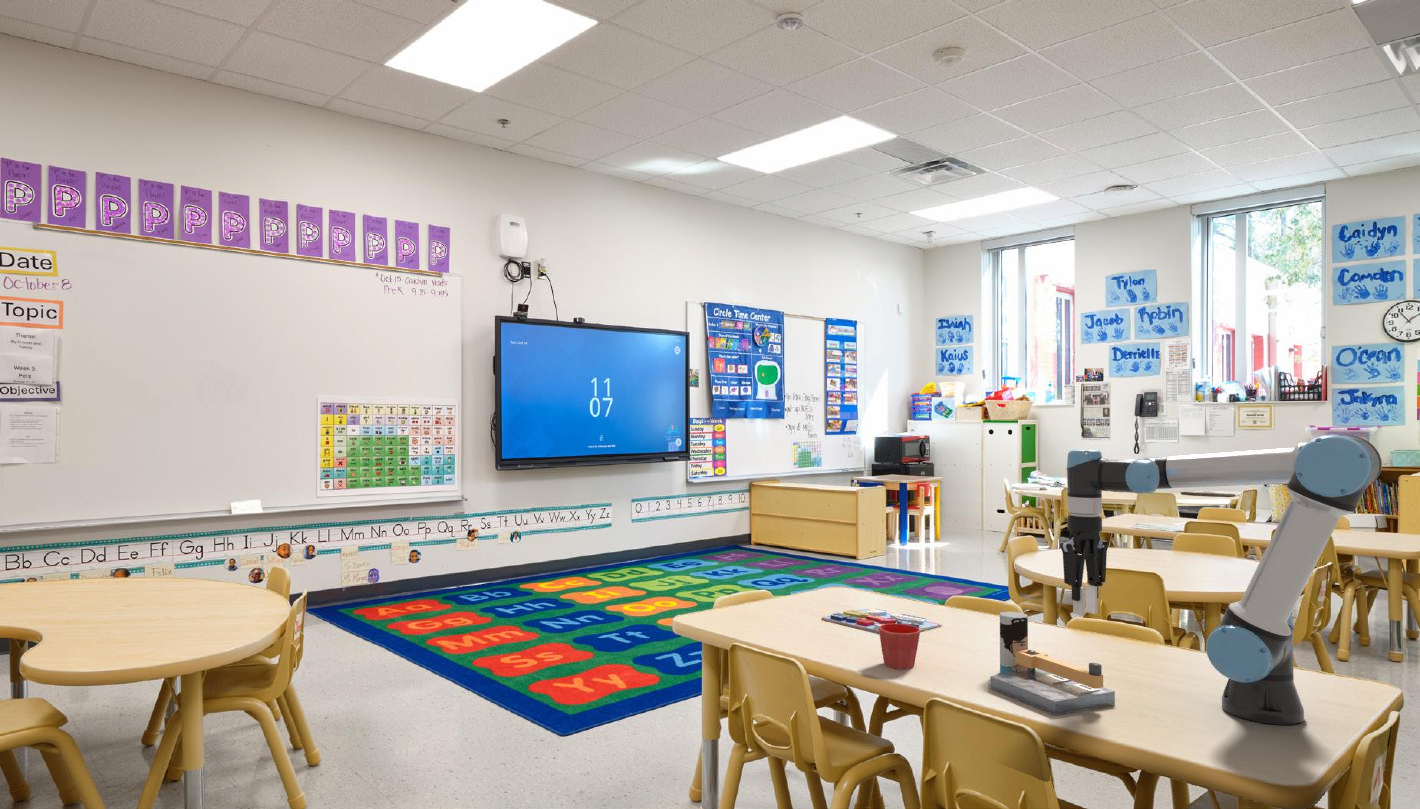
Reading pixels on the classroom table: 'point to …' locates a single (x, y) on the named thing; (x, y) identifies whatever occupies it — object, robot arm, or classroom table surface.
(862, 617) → the puzzle board
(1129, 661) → the classroom table surface
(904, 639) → the flower pot
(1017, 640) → the printed cylinder
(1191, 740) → the classroom table surface
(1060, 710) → the board
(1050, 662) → the bar
